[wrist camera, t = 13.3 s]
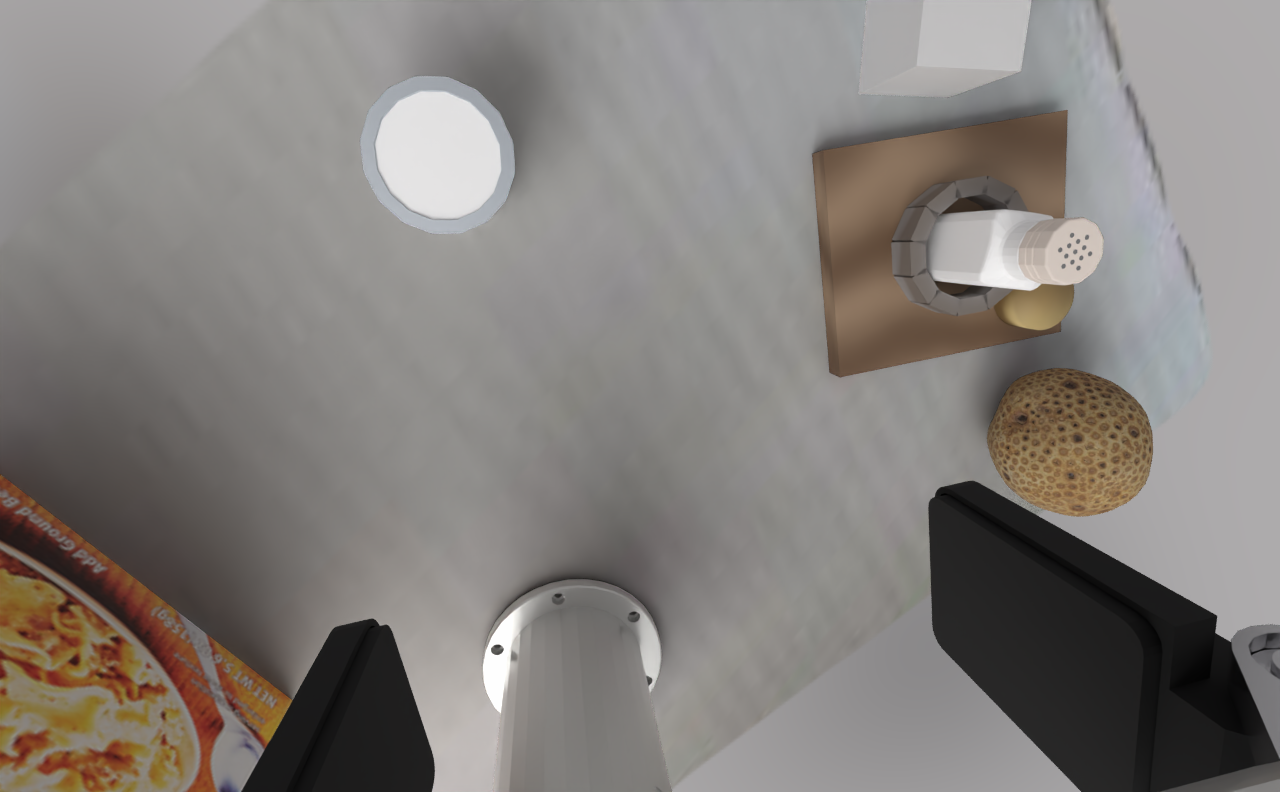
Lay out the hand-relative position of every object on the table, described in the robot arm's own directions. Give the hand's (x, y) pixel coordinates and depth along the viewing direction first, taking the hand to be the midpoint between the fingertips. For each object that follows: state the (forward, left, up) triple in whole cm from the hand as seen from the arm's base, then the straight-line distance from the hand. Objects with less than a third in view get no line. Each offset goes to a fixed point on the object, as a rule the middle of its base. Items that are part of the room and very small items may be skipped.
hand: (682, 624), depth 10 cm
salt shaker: (+2, -24, -27) cm, 36 cm away
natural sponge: (-11, -29, -28) cm, 42 cm away
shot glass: (+11, +5, -28) cm, 31 cm away
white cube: (+14, -23, -29) cm, 39 cm away
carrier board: (+2, -24, -28) cm, 37 cm away
